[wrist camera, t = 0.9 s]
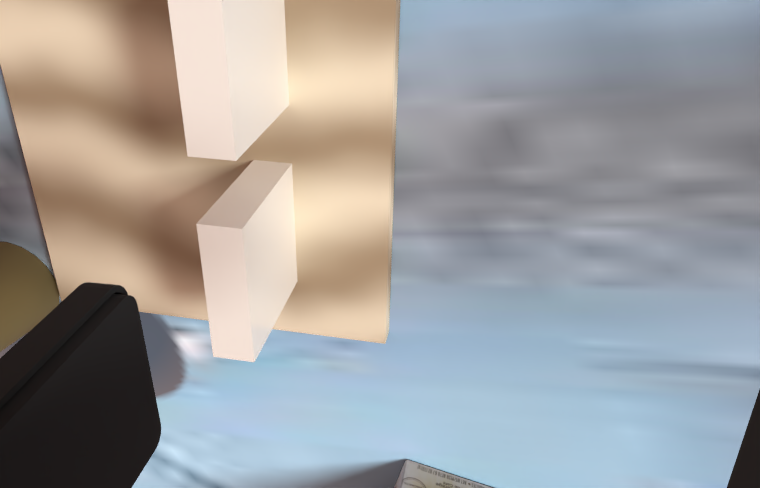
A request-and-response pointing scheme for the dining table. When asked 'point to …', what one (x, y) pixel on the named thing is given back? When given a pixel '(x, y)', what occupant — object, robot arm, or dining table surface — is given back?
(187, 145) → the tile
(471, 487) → the coffee box
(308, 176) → the birch board
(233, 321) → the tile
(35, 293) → the cork
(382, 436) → the dining table surface
